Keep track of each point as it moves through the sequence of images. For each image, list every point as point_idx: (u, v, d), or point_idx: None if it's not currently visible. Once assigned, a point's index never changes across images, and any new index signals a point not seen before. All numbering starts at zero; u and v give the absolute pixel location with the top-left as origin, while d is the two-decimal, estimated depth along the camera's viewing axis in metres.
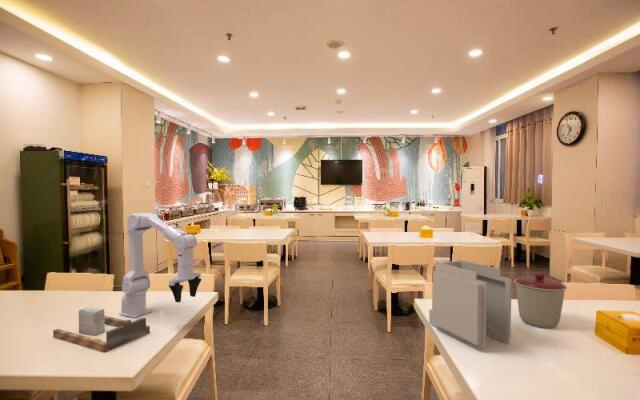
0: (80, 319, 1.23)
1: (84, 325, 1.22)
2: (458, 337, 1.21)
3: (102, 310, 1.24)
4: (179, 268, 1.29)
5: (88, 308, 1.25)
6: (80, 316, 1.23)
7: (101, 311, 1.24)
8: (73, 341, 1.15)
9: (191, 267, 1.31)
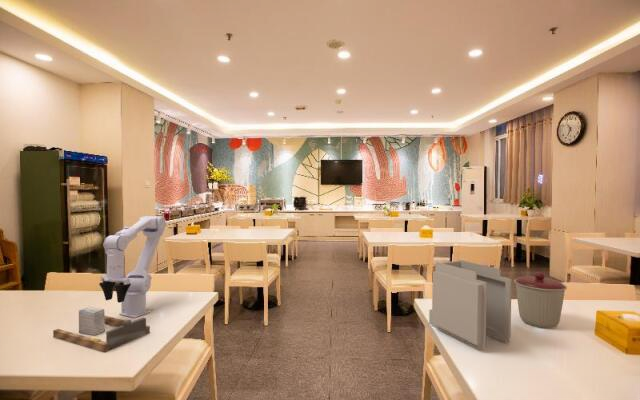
0: (80, 319, 1.23)
1: (84, 325, 1.22)
2: (458, 337, 1.21)
3: (102, 310, 1.24)
4: None
5: (88, 308, 1.25)
6: (80, 316, 1.23)
7: (101, 311, 1.24)
8: (73, 341, 1.15)
9: (108, 269, 1.27)
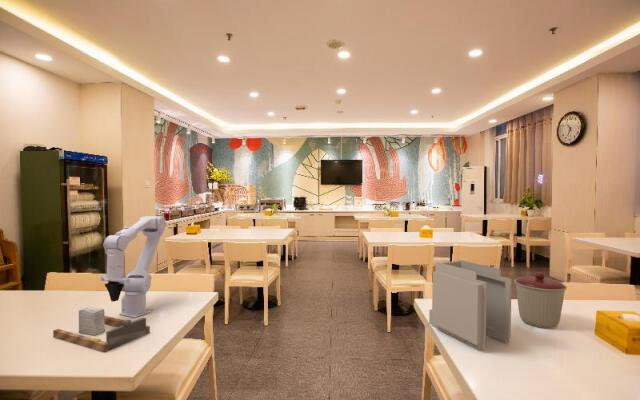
0: (80, 319, 1.23)
1: (84, 325, 1.22)
2: (458, 337, 1.21)
3: (102, 310, 1.24)
4: None
5: (88, 308, 1.25)
6: (80, 316, 1.23)
7: (101, 311, 1.24)
8: (73, 341, 1.15)
9: (108, 269, 1.27)
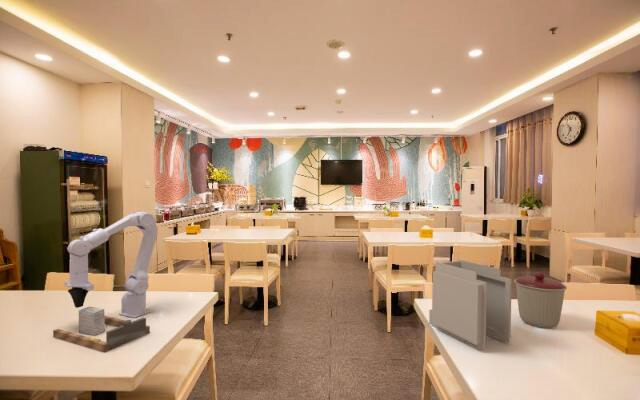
0: (80, 319, 1.23)
1: (84, 325, 1.22)
2: (458, 337, 1.21)
3: (102, 310, 1.24)
4: None
5: (88, 308, 1.25)
6: (80, 316, 1.23)
7: (101, 311, 1.24)
8: (73, 341, 1.15)
9: (71, 274, 1.24)
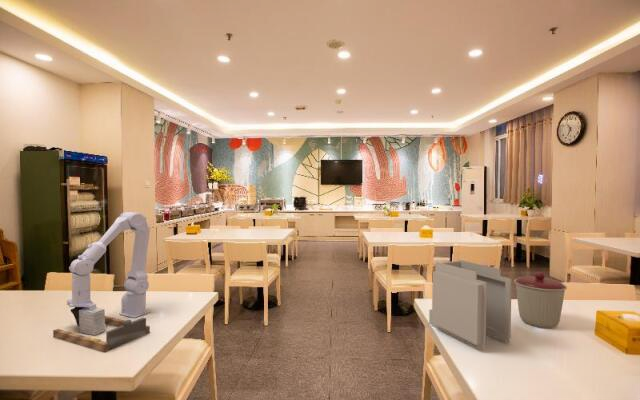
0: (80, 319, 1.23)
1: (84, 325, 1.22)
2: (458, 337, 1.21)
3: (102, 310, 1.24)
4: None
5: None
6: (80, 316, 1.23)
7: (102, 311, 1.24)
8: (73, 341, 1.15)
9: (73, 294, 1.24)
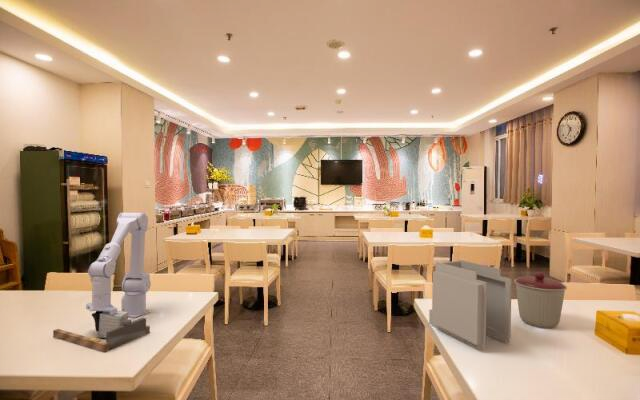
0: (101, 323, 1.18)
1: (106, 329, 1.18)
2: (458, 337, 1.21)
3: (126, 313, 1.21)
4: None
5: None
6: (102, 320, 1.18)
7: (126, 314, 1.21)
8: (73, 341, 1.15)
9: (94, 298, 1.19)
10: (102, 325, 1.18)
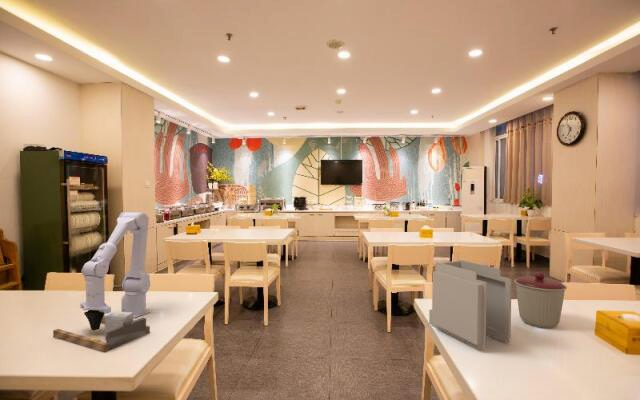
0: (107, 325, 1.18)
1: None
2: (458, 337, 1.21)
3: (131, 314, 1.21)
4: None
5: (114, 313, 1.20)
6: (107, 322, 1.18)
7: (131, 314, 1.20)
8: (73, 341, 1.15)
9: (88, 297, 1.21)
10: (108, 327, 1.18)
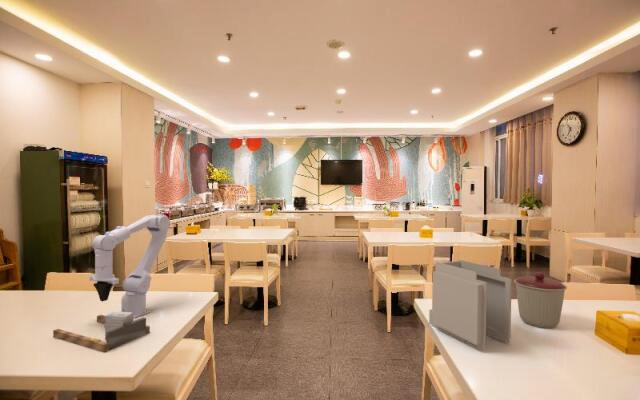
0: (107, 325, 1.18)
1: None
2: (458, 337, 1.21)
3: (131, 314, 1.21)
4: None
5: (114, 313, 1.20)
6: (107, 322, 1.18)
7: (131, 314, 1.20)
8: (73, 341, 1.15)
9: (97, 269, 1.27)
10: (108, 327, 1.18)
